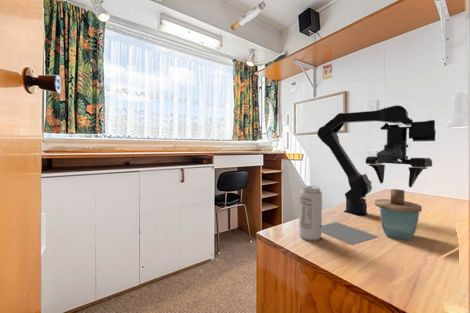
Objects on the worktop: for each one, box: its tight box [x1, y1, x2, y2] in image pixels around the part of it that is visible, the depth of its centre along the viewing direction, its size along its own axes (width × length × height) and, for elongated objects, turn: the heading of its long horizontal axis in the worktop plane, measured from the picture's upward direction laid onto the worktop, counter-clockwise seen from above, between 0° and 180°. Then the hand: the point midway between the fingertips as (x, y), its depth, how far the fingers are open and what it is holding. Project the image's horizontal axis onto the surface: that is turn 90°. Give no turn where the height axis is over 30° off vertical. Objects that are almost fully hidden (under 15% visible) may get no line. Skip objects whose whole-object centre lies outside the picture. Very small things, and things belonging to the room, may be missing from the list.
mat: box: [321, 221, 379, 246], centre depth 67 cm, size 14×12×1 cm
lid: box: [374, 188, 423, 213], centre depth 64 cm, size 11×11×5 cm
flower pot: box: [379, 207, 420, 241], centre depth 64 cm, size 9×9×9 cm
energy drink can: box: [298, 185, 323, 242], centre depth 63 cm, size 6×6×15 cm
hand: (395, 185), depth 78 cm, fingers open, 9 cm apart
